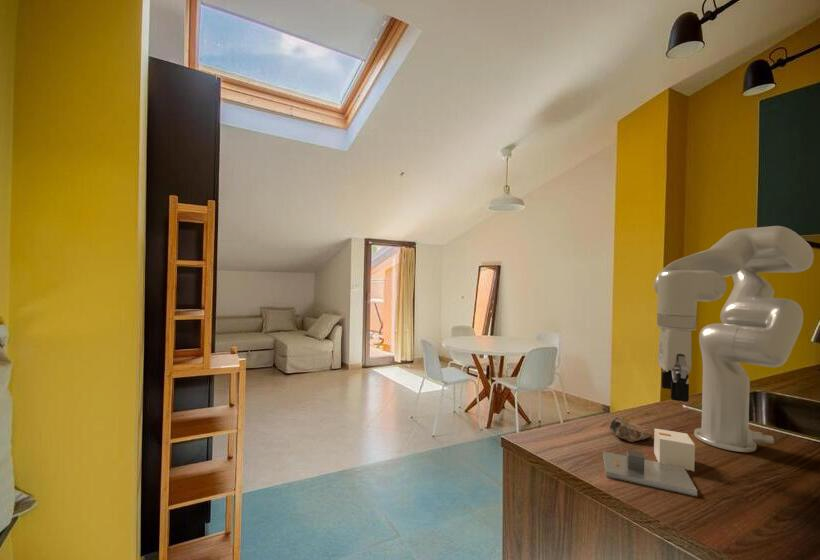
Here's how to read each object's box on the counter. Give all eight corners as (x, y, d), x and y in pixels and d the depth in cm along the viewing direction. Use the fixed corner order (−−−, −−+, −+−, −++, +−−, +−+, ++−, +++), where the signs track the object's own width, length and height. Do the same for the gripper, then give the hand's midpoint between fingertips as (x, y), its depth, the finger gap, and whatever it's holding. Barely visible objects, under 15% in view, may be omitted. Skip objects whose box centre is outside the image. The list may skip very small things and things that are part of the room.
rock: (621, 444, 95) (660, 439, 94) (614, 420, 97) (653, 415, 96) (608, 438, 104) (644, 433, 103) (602, 417, 105) (638, 412, 104)
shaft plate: (683, 472, 81) (684, 453, 81) (697, 496, 72) (697, 475, 72) (603, 456, 88) (603, 439, 88) (606, 476, 79) (606, 457, 79)
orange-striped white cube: (686, 458, 88) (686, 432, 88) (694, 471, 82) (694, 443, 82) (653, 452, 91) (654, 427, 91) (659, 464, 85) (660, 437, 85)
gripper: (650, 317, 95) (649, 382, 96) (664, 325, 80) (663, 403, 80) (685, 319, 92) (683, 386, 92) (707, 328, 77) (705, 408, 77)
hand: (674, 394), depth 86 cm, fingers open, 9 cm apart
